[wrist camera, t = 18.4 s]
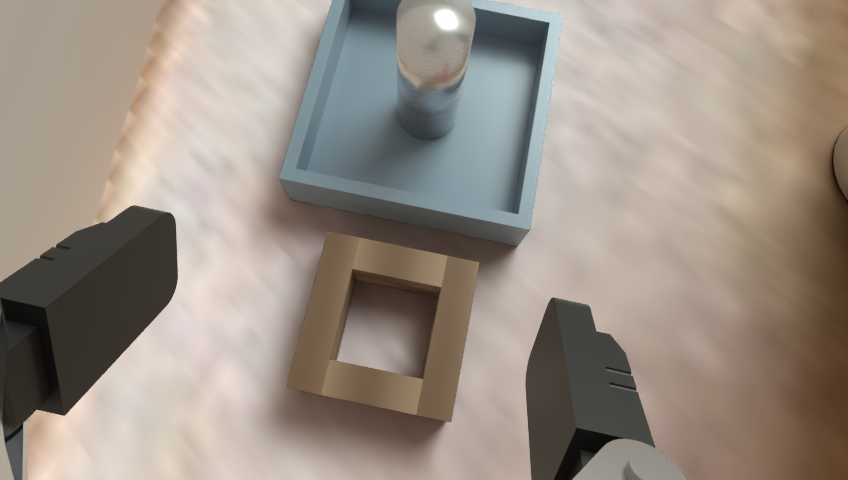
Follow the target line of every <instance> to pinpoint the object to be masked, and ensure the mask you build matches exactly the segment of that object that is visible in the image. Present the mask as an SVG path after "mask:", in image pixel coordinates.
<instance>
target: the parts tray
mask: <svg viewBox="0 0 848 480" xmlns="http://www.w3.org/2000/svg"><path fill="white" fill-rule="evenodd" d="M401 1H402V0H332V3H331V7H330V10H329V13H328V16H327V20H326V23H325V26H324V30H323V33H322V36H321V40H320V43H319V46H318V50H317V53H316V56H315V60H314V63H313V66H312V70H311V73H310V76H309V80H308V83H307V86H306V90H305V93H304V96H303V100H302V103H301V106H300V110H299V113H298V116H297V120H296V123H295V126H294V129H293V133H292V136H291V139H290V143H289V146H288V149H287V153H286V156H285V159H284V163H283V166H282V169H281V173H280V176H279V179H280V181H281V183H282V185H283V187H284V189H285V191H286V193H287V194H288V196H289V198H290V199H291V200H296V201H301V202H306V203H311V204H316V205H321V206H325V207H330V208H335V209H340V210H345V211H350V212H355V213H359V214H364V215H369V216H374V217H379V218H384V219H389V220H393V221H398V222H403V223H408V224H413V225H418V226H423V227H427V228H432V229H437V230H442V231H447V232H452V233H456V234H461V235H466V236H471V237H476V238H481V239H486V240H490V241H495V242H500V243H505V244H510V245H515V246H518V245H519V244H520V243H521V241H522V240H523V238H524V237H525V236H526V234H527V233H528V232H529V230H530V227H531V220H532V214H533V207H534V201H535V194H536V188H537V181H538V175H539V168H540V162H541V156H542V149H543V143H544V136H545V130H546V123H547V117H548V110H549V104H550V97H551V91H552V84H553V78H554V72H555V65H556V59H557V52H558V46H559V39H560V33H561V26H562V20H563V15H561V14H556V13H551V12H546V11H541V10H536V9H531V8H526V7H521V6H516V5H510V4H505V3H500V2H495V1H490V0H469V1H470V3H471V4H472V6H473V8H474V11H475V15H476V24H475V30H474V35H473V40H472V45H471V50H470V55H469V60H468V65H467V70H466V75H465V80H464V85H463V90H462V96H461V101H460V106H459V111H458V116H457V120H456V123H455V125H454V127H453V129H452V130H451V131H450V132H449V133H448V134H446V135H445V136H443V137H441V138H439V139H435V140H421V139H417V138H415V137H413V136H411V135H409V134H408V133H407V132H406V131H405V130H404V129H403V128H402V126H401V125H400V123H399V120H398V115H397V10H398V7H399V5H400V3H401Z"/></svg>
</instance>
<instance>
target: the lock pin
mask: <svg viewBox="0 0 848 480" xmlns="http://www.w3.org/2000/svg"><path fill="white" fill-rule="evenodd" d="M475 24H476V15H475V11H474V8H473V6H472V4H471V3H470V1H469V0H402V1H401V3H400V5H399V7H398V10H397V115H398V120H399V123H400V125H401V126H402V128H403V129H404V130H405V131H406V132H407V133H408V134H409V135H411V136H413V137H415V138H417V139H421V140H435V139H439V138H441V137H443V136H445V135H446V134H448V133H449V132H450V131H451V130H452V129H453V127H454V125H455V123H456V120H457V116H458V111H459V106H460V101H461V96H462V90H463V85H464V80H465V75H466V70H467V65H468V60H469V55H470V50H471V45H472V40H473V35H474V30H475Z"/></svg>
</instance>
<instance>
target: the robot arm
mask: <svg viewBox="0 0 848 480" xmlns="http://www.w3.org/2000/svg"><path fill="white" fill-rule="evenodd" d="M833 162H834V170H835V175H836V178H837V181H838V184H839V187H840V188H841V190H842V192H843V193H844V195H845V197H846V199H847V200H848V126H847V127H846V128H845V129H844V131H843V132H842V133H841V135H840V136H839V138H838V140H837V143H836V146H835V149H834V158H833ZM177 279H178V269H177V243H176V222H175V219H174V216H173V215H172V214H171V213H168V212H163V211H159V210H154V209H150V208H145V207H140V206H131V207H129V208H127V209H126V210H124V211H123V212H122V213H120V214H119V215H117V216H116V217H114V218H113V219H112V220H110V221H109V222H107V223H103V222H102V223H99V224H96V225H93V226H91V227H88V228H85V229H82V230H79V231H76V232H75V233H73V234H72V235H70V236H69V237H67V238H66V239H64V240H63V241H61V242H60V243H58V244H57V245H56V248H54V247H52V248H51V249H49V250H48V251H46V252H45V253H43V254H42V255H41V256H40V259H37V258H36V259H34V260H33V261H32V262H30V263H28V264H27V265H26V266H24V267H23V268H21V269H19V270H18V271H17V272H15V273H13V274H12V275H10V276H9V277H8V278H6V279H5V280H3V281H2V282H0V480H28V428H27V424H26V420H27V419H28V418H29V417H30V416H31V415H32V414H33V413H34V412H35V411H36V410H41V411H46V412H50V413H55V414H59V415H64V416H65V415H66V414H67V413H68V412H69V410H70V409H71V408H72V407H73V406H74V405H75V404H76V403H77V402H78V401H79V400H80V399H81V398H82V396H83V395H84V394H85V393H86V392H87V391H88V390H89V389H90V388H91V387H92V386H93V385H94V384H95V382H96V381H97V380H98V379H99V378H100V377H101V376H102V375H103V374H104V373H105V372H106V371H107V369H108V368H109V367H110V366H111V365H112V364H113V363H114V362H115V361H116V360H117V359H118V358H119V357H120V355H121V354H122V353H123V352H124V351H125V350H126V349H127V348H128V347H129V346H130V345H131V344H132V342H133V341H134V340H135V339H136V338H137V337H138V336H139V335H140V334H141V333H142V332H143V331H144V330H145V328H146V327H147V326H148V325H149V324H150V323H151V322H152V321H153V320H154V319H155V318H156V317H157V316H158V314H159V313H160V312H161V311H162V310H163V309H164V308H165V307H166V306H167V305H168V303H169V302H170V300H171V299H172V297H173V294H174V292H175V289H176V285H177ZM526 399H527V415H528V431H529V446H530V462H531V478H532V480H687V478H686V477H685V475H684V474H683V472H682V471H681V470H680V468H679V467H678V466H677V465H676V464H675V463H674V462H673V461H672V460H671V459H670V458H669V457H667V456H666V455H665V454H663V453H662V452H660V451H659V450H657V449H656V448H655V445H654V442H653V439H652V436H651V433H650V429H649V426H648V423H647V420H646V417H645V414H644V410H643V407H642V404H641V401H640V398H639V395H638V392H636V385H635V382H634V379H633V376H631V369H630V366H629V363H628V360H627V357H626V353H625V352H624V351H623V350H622V348H621V347H620V346H619V345H618V343H617V342H616V341H615V340H614V339H613V337H612V336H611V335H610V334H606V333H601V332H597V331H596V328H595V325H594V321H593V317H592V313H591V309H590V307H589V305H586V304H581V303H576V302H572V301H567V300H563V299H558V298H551V300H550V301H549V303H548V306H547V308H546V311H545V314H544V317H543V320H542V322H541V325H540V328H539V331H538V334H537V337H536V340H535V342H534V345H533V348H532V351H531V354H530V357H529V361H528V366H527V371H526Z"/></svg>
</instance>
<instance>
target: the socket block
mask: <svg viewBox="0 0 848 480" xmlns="http://www.w3.org/2000/svg"><path fill="white" fill-rule="evenodd" d="M479 263H480V262H476V261H471V260H466V259H461V258H456V257H452V256H447V255H442V254H437V253H432V252H427V251H423V250H418V249H413V248H408V247H403V246H398V245H394V244H389V243H384V242H379V241H374V240H369V239H365V238H360V237H355V236H350V235H345V234H340V233H336V232H331V231H328V233H327V237H326V240H325V244H324V248H323V252H322V255H321V259H320V263H319V267H318V271H317V274H316V278H315V282H314V286H313V289H312V293H311V297H310V301H309V304H308V308H307V312H306V316H305V320H304V323H303V327H302V331H301V335H300V338H299V342H298V346H297V350H296V354H295V357H294V361H293V365H292V369H291V372H290V376H289V380H288V384H287V387H286V388H291V389H295V390H300V391H305V392H310V393H314V394H319V395H324V396H328V397H333V398H338V399H343V400H347V401H352V402H357V403H361V404H366V405H371V406H376V407H380V408H385V409H390V410H394V411H399V412H404V413H409V414H413V415H418V416H423V417H428V418H432V419H437V420H442V421H446V422H451V420H452V414H453V408H454V403H455V397H456V392H457V386H458V381H459V375H460V369H461V364H462V358H463V353H464V347H465V342H466V336H467V330H468V325H469V319H470V314H471V308H472V302H473V297H474V291H475V286H476V280H477V275H478V269H479ZM356 280H359V281H364V282H369V283H374V284H378V285H383V286H388V287H393V288H398V289H402V290H407V291H412V292H417V293H422V294H426V295H431V296H436V297H438V299H437V304H436V309H435V314H434V319H433V324H432V329H431V334H430V339H429V344H428V349H427V354H426V359H425V364H424V370H423V375H422V379H420V378H415V377H410V376H406V375H401V374H396V373H391V372H387V371H382V370H377V369H373V368H368V367H363V366H358V365H354V364H349V363H344V362H339V361H337V357H338V352H339V348H340V344H341V340H342V336H343V332H344V328H345V324H346V320H347V315H348V311H349V307H350V303H351V299H352V295H353V291H354V287H355V283H356Z"/></svg>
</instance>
